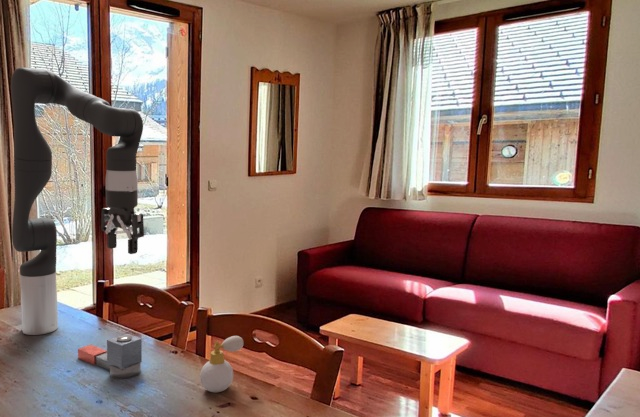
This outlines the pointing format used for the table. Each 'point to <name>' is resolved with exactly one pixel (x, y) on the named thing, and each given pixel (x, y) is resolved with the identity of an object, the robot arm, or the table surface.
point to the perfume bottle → (220, 366)
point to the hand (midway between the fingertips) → (122, 250)
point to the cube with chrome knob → (124, 351)
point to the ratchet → (100, 359)
